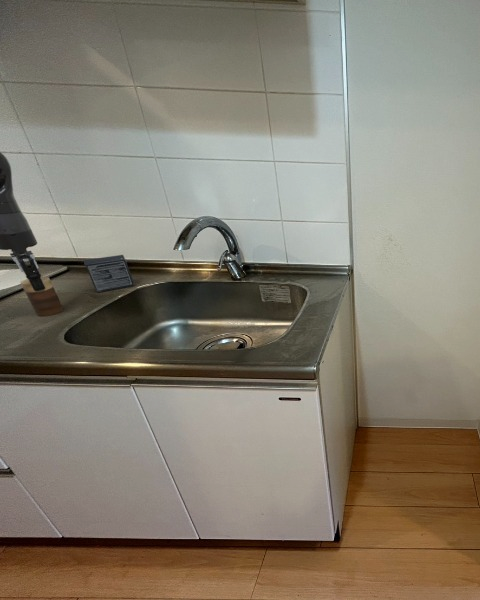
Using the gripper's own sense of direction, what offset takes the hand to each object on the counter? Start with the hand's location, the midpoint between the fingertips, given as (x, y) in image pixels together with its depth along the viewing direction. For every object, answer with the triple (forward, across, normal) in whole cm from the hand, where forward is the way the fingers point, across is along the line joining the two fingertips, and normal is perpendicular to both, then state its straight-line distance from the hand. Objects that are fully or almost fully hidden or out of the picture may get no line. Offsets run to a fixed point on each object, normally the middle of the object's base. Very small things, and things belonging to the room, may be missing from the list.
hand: (38, 286), depth 89 cm
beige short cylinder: (+1, 0, 0) cm, 1 cm away
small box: (+9, -9, +18) cm, 22 cm away
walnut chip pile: (+8, 0, 0) cm, 8 cm away
